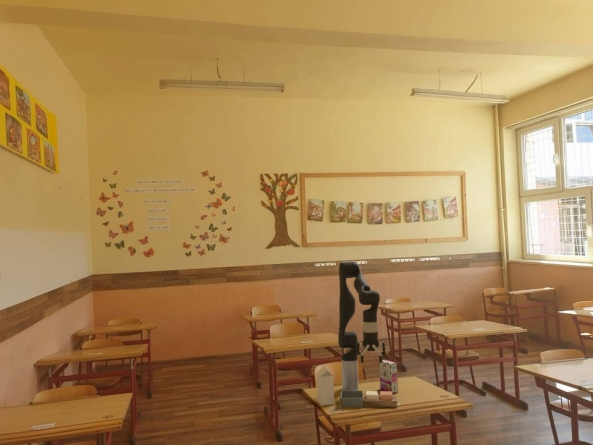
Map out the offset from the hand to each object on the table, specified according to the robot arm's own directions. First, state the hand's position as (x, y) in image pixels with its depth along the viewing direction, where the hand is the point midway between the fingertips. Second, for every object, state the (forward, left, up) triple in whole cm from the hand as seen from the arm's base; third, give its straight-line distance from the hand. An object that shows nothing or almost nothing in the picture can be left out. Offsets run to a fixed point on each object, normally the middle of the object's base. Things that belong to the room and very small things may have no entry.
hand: (371, 362), depth 232 cm
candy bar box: (-34, +11, -24) cm, 43 cm away
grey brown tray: (-12, +4, -24) cm, 27 cm away
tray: (-12, -11, -24) cm, 29 cm away
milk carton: (-11, -24, -24) cm, 36 cm away
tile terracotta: (-12, +8, -21) cm, 25 cm away
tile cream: (-12, 0, -21) cm, 24 cm away
